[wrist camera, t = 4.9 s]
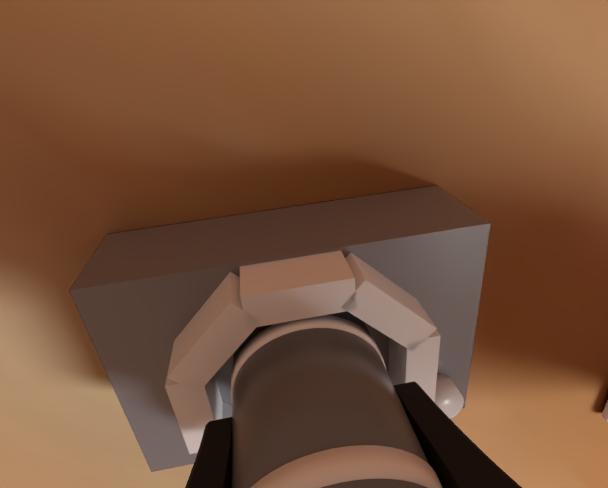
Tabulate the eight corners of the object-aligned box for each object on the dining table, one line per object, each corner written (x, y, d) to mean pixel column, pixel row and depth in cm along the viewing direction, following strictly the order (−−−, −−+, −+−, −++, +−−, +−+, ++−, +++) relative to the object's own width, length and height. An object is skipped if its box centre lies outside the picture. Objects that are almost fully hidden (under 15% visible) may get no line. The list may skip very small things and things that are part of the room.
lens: (379, 291, 12) (494, 490, 7) (363, 397, 14) (440, 615, 9) (228, 298, 11) (219, 529, 6) (234, 409, 13) (232, 655, 8)
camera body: (437, 185, 15) (523, 246, 10) (426, 347, 18) (485, 442, 14) (106, 234, 14) (45, 326, 9) (166, 395, 17) (142, 516, 13)
